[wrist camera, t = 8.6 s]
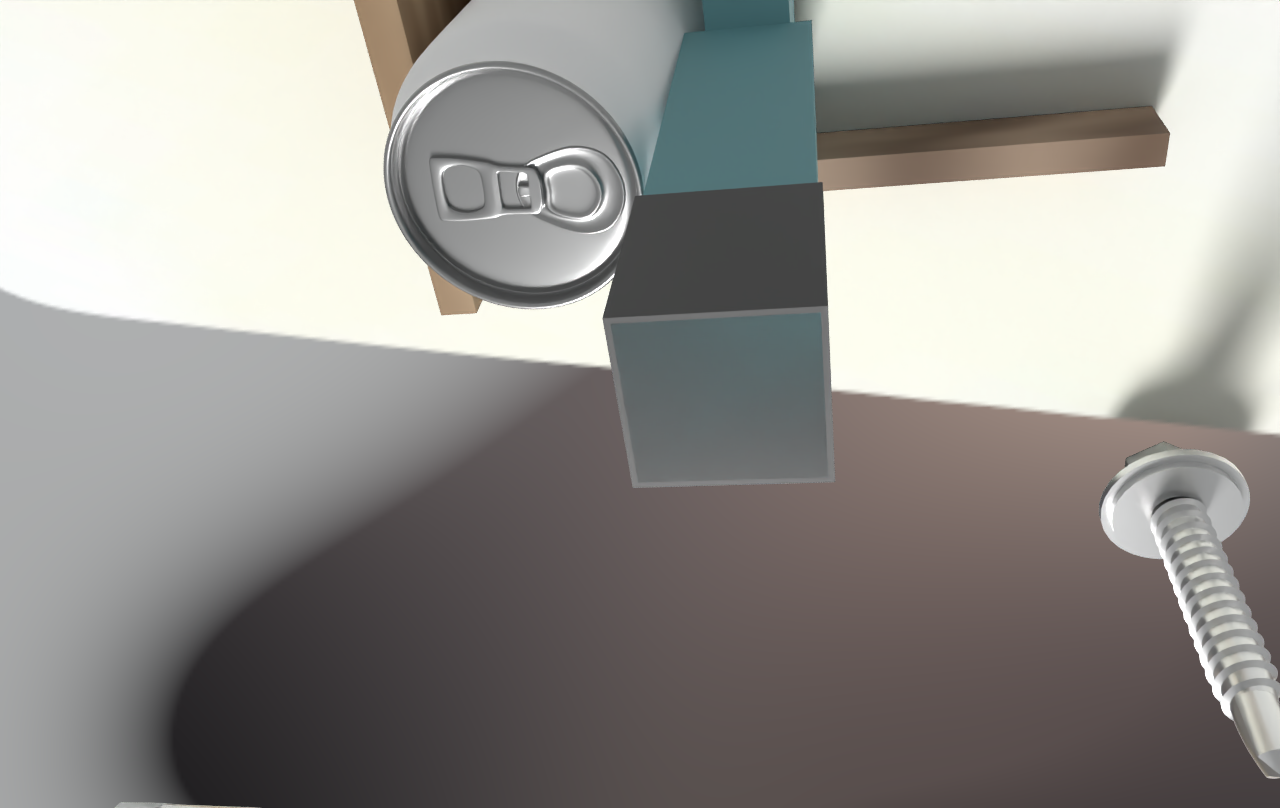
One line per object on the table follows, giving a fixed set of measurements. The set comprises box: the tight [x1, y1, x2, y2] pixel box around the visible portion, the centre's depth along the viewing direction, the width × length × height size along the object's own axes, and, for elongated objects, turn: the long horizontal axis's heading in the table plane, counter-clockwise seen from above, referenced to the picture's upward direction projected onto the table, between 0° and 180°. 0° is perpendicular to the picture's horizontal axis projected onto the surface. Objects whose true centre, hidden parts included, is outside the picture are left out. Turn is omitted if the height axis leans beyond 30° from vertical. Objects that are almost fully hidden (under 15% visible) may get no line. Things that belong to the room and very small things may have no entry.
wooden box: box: [354, 0, 1170, 315], centre depth 29 cm, size 20×10×8 cm, turn 98°
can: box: [384, 0, 705, 309], centre depth 28 cm, size 6×6×12 cm
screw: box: [1099, 442, 1280, 778], centre depth 35 cm, size 13×5×5 cm
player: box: [603, 0, 835, 488], centre depth 24 cm, size 3×6×19 cm, turn 8°
